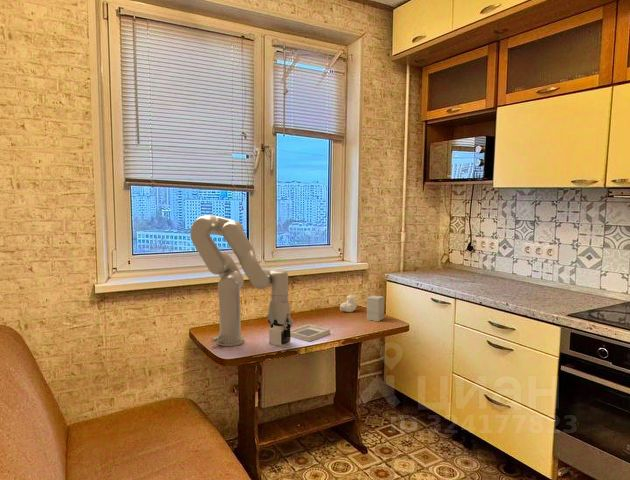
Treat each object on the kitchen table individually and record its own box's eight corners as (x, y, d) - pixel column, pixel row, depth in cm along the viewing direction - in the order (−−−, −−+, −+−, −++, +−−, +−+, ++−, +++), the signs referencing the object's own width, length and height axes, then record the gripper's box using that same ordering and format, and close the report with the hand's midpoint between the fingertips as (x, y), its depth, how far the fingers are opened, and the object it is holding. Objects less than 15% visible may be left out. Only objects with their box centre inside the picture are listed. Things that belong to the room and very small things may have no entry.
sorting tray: (308, 341, 201) (308, 337, 201) (286, 335, 210) (286, 331, 209) (330, 333, 213) (330, 329, 213) (308, 328, 222) (308, 324, 222)
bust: (340, 316, 254) (347, 303, 247) (335, 306, 259) (341, 294, 252) (357, 313, 260) (364, 301, 253) (351, 304, 265) (358, 291, 258)
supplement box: (384, 318, 241) (384, 296, 240) (378, 321, 234) (379, 298, 233) (372, 317, 245) (372, 294, 244) (366, 319, 238) (366, 297, 237)
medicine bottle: (281, 346, 194) (281, 320, 193) (268, 343, 198) (268, 317, 197) (290, 342, 200) (290, 316, 199) (278, 339, 204) (278, 314, 203)
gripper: (260, 296, 200) (260, 334, 201) (288, 302, 189) (288, 341, 190) (272, 294, 205) (272, 330, 207) (299, 299, 194) (299, 337, 196)
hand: (279, 335), depth 199 cm, fingers closed on medicine bottle, 7 cm apart
